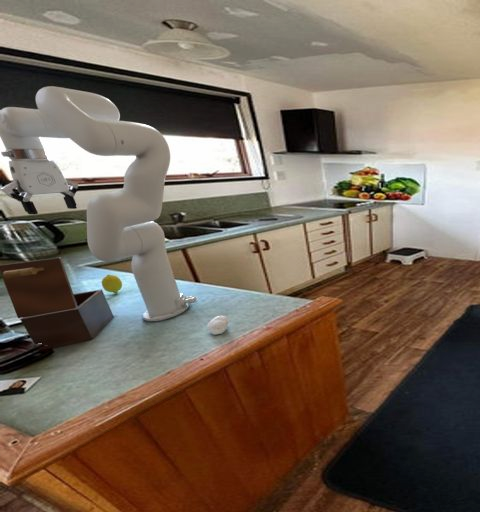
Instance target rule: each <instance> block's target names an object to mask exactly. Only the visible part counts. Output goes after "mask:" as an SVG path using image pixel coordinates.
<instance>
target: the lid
mask: <svg viewBox="0 0 480 512" xmlns="http://www.w3.org/2000/svg"><path fill="white" fill-rule="evenodd" d="M66 271H67V270H66V268H65V265H64V262H63V258H62V257H53V258H45V259H39V260H38V259H37V260H29V261H22V262H15V263H14V262H13V263H7V264H6V263H5V264H0V275H1V278H2V281H3V283H4V285H5V289H6V291H7V293H8V296H9V299H10V301H11V304H12V306H13V309H14V311H15V314H16V317H17V319H21V318H23V317H28V316H34V315H39V314H45V313H50V312H56V311H61V310H67V309H73V308H77V307H78V306H77V303H76V300H75V297H74V294H75V293H74V291H73V289H72V286H71V283H70V280H69V277H68V274H67V272H66Z"/></svg>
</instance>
